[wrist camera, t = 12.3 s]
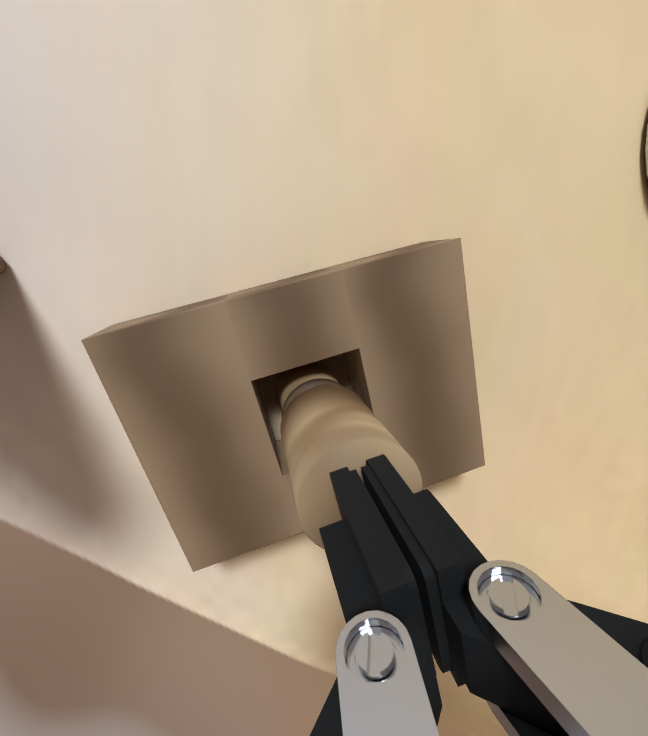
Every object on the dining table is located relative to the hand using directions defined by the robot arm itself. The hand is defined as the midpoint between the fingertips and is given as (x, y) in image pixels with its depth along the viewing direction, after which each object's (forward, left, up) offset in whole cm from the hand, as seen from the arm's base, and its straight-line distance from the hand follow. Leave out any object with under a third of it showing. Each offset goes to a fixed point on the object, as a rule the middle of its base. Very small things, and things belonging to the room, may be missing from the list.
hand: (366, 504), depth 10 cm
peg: (0, 0, -10) cm, 10 cm away
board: (0, 0, -10) cm, 10 cm away
